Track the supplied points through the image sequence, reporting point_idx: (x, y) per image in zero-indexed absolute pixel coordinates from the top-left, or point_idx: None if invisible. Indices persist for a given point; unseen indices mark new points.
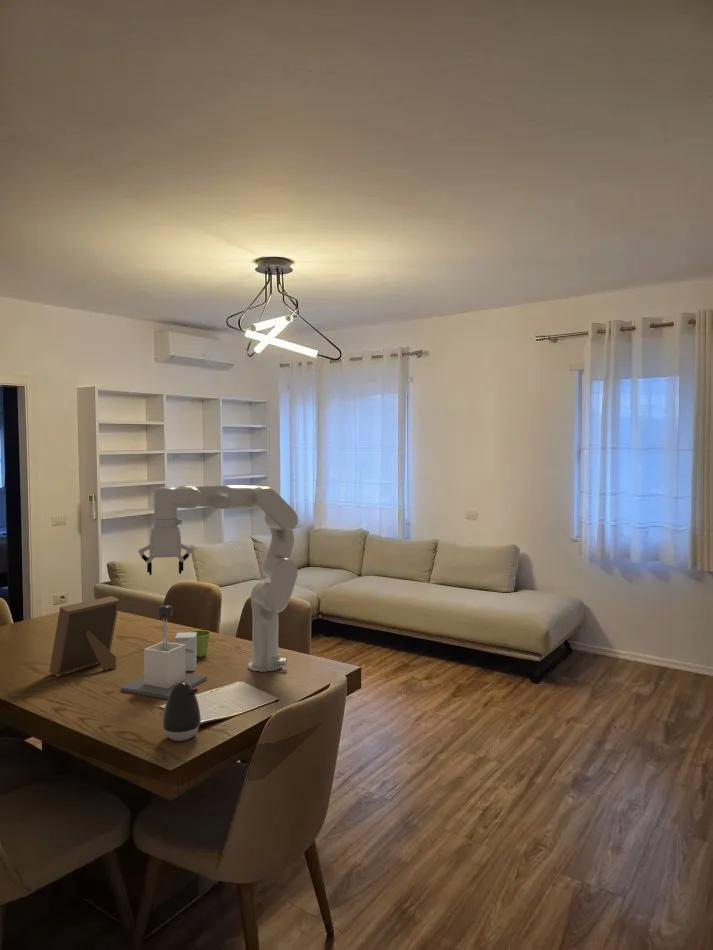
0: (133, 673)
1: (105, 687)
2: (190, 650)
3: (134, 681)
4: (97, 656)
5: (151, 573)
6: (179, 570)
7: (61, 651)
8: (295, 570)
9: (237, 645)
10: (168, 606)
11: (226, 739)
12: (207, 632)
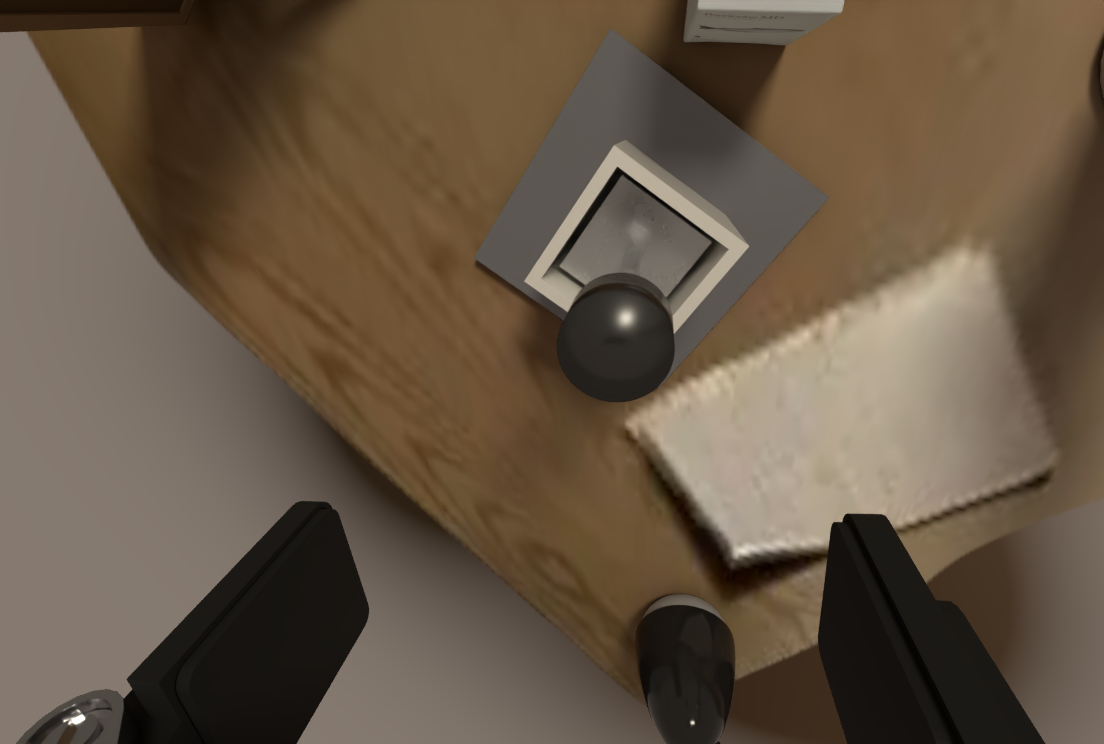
0: (489, 28)
1: (414, 202)
2: (787, 30)
3: (514, 201)
4: None
5: (357, 633)
6: (842, 705)
7: (104, 24)
8: None
9: None
10: (642, 355)
11: (789, 653)
12: None
